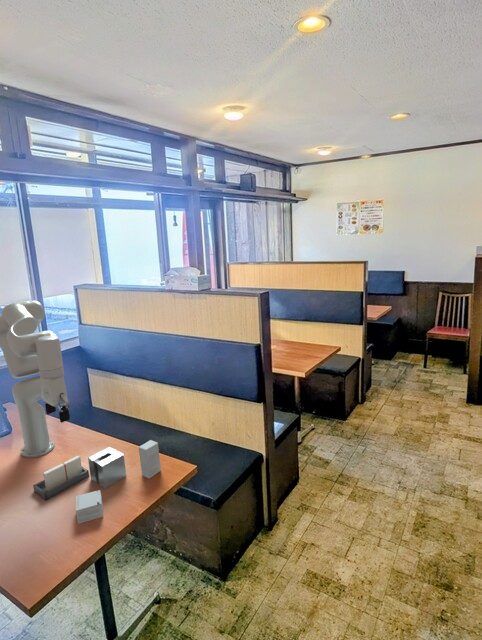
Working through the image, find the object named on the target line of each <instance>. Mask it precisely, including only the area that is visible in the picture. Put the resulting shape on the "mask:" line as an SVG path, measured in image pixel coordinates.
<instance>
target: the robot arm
mask: <svg viewBox="0 0 482 640" xmlns="http://www.w3.org/2000/svg"><path fill="white" fill-rule="evenodd" d="M44 318H45V309H44V306H43V305H42V303H40V302H39V301H37V300H27V301H26V300H25V301H20V302H19V301H18V302H13V303H9V304H6V305H5V306H4V307H3V308H2V311H1V313H0V349H1V351H2V354H3V358H4V359H5V360H4V361H5V362H6V367H7V369H8V372H9V374H10V376H11V377H12V378H14V379H21V378H26V377H30V376H33V375H38V374H39V375H38V376H33V377H30V378H26V379H23V380H19V381H17V382H16V383H14V384H13V386H12V388H11V394H12V396H13V399H14V402H15V405H16V409H17V412H18V418H19V422H20V429H21V433H22V440H23V444H24V446H23V448H22V449H21V456H22V457H23V458H24V457H25V458H30V459H31V458H38V457H41V456H44V455H46V454H48V453H50V452H51V451H52V450H53V449H54V448H55V442H54V440H51V439H50V433H49V428H48V422H47V421H48V420H47V416H46V415H49V414H53V413H55V412H56V411H57V409H56V407H57V408H58V410H59V411H58V416H59V422H60V423H61V424H62V423H65V422H67V421H69V420H70V419H71V417H70V402H71V401H70V400H69V399H68V391H67V386H66V382H65V378H64V375H65V370H64V369H65V368H64V362H63V356H62V348H61V340H60V338H59V337H58V336H57V334H56V333H55V332H54V331H52V330H43V331H42V330H41V331H37V328H38V326H39V325H40V324H41V323H42V322H43V320H44ZM36 331H37V332H36ZM40 400H42V401H43V402H44V406H45V407H44V406H43V405H42V404H40V403H39V402H38V401H40Z"/></svg>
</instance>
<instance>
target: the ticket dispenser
mask: <svg viewBox="0 0 482 640" xmlns="http://www.w3.org/2000/svg"><path fill="white" fill-rule="evenodd" d="M87 461H88V467H89V477H90V480H91V481H93V482H94V483H99V486H100V487H101V488H103V489H107V488H108V487H110V486H112V485H114V484H115V483H117V482H119V481H120V480H122V479H124V478H125V477H127V471H126V470H127V469H126V461H125V454H124V453H122V452H120V451H119V450H116V449H115V448H112V447H110V446H108V447H106V448H105V449H103V450H101V451H98V452H96V453H95V454H93V455H91V456H89V457H88V458H87Z"/></svg>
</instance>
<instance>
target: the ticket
mask: <svg viewBox="0 0 482 640" xmlns="http://www.w3.org/2000/svg"><path fill="white" fill-rule="evenodd" d="M81 460H82V459H81V456H80V455H76V456H74V457H71V458H70V459H68V460H66V461H63V462H62V463H60V464H57V465H56V466H54V467H52V468H50V469H47V470H46V471H44V472H42V473H43V478H44V479H43V480H45V486H46V490H47V491H50V490H51V489H53V488H55V487H57V486H59V485H61V484H62V483H64V482H66V481H68V480H70V479H72V478H73V477H75V476H77V475H79V474H81V473H83V472H82V467H83V466H82V461H81Z"/></svg>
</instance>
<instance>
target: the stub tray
mask: <svg viewBox="0 0 482 640" xmlns="http://www.w3.org/2000/svg"><path fill="white" fill-rule="evenodd" d="M82 472H83V473H81V474H79V475H77V476H75V477H73V478H72V479H70V480H68V481H66V482H64V483H62V484H61V485H59V486H57V487H55V488H53V489H51V490H50V491H47V490H46V486H45V480H44V479H43V480H41V481H38V482H37V483H35V484H33V492H34V493H36V494H37V495H38V496H39V497H41V499H43V500H44V501H48V500H50V499H52V498H53V497H55V496H57V495H59V494H60V493H62V492H64V491H66V490H68V489H70V488H71V487H73V486H76V485H77V484H78V483H80V482H82V481H84V480H86V479H87V478H89V477H90V470H88V469H86V468H85V467H83V466H82Z"/></svg>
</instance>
